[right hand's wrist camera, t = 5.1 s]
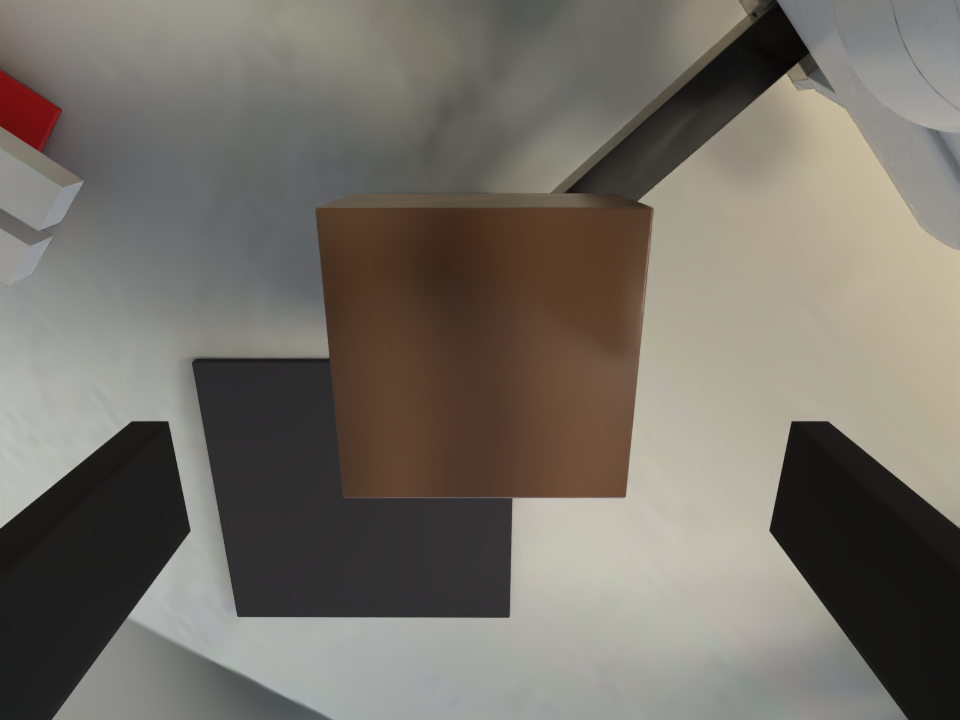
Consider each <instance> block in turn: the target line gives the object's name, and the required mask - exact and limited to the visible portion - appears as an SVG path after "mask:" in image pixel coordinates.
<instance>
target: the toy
mask: <svg viewBox="0 0 960 720" xmlns="http://www.w3.org/2000/svg"><path fill="white" fill-rule="evenodd" d="M60 112H61V109H60V108H58V107H56V106H55V105H53V104H52V103H50V102H49V101H47V100H46V99H44V98H42V97H41V96H39V95H38V94H36V93H35V92H33V91H32V90H30V89H28V88H27V87H25V86H24V85H22V84H21V83H19V82H18V81H16V80H14V79H13V78H11V77H10V76H8V75H7V74H5V73H4V72H2V71H0V283H1V284H3V285H5V286H7V287H8V286H10V285H12V284H14V283H16V282H18V281H20V280H22V279H24V278H26V277H28V276H30V275H31V274H32V273H33V271H34V269H35V267H36V266H37V264H38V262H39V260H40V259H41V257H42V255H43V253H44V251H45V250H46V248H47V246H48V244H49V243H50V241H51V239H52V237H53V236H52V235H50V234H49V233H47V232H45V231H44V230H42V229H45V228H47V227H50V226H52V225H55V224H57V223H60V222H61V221H62V220H63V218H64V216H65V214H66V213H67V211H68V209H69V207H70V206H71V204H72V202H73V200H74V198H75V197H76V195H77V193H78V191H79V190H80V188H81V186H82V184H83V183H84V180H82V179H81V178H79V177H78V176H76V175H75V174H73V173H71V172H70V171H68V170H67V169H65V168H64V167H62V166H61V165H59V164H58V163H56V162H54V161H53V160H51V159H50V158H48V157H47V156H45V155H44V154H42V153H41V151H42V149H43V147H44V145H45V143H46V141H47V139H48V137H49V135H50V133H51V131H52V129H53V127H54V125H55V122H56V120H57V118H58V116H59V114H60Z"/></svg>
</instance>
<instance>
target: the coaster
mask: <svg viewBox="0 0 960 720" xmlns="http://www.w3.org/2000/svg"><path fill="white" fill-rule="evenodd" d="M192 365H193V371H194V376H195V382H196V387H197V393H198V399H199V404H200V410H201V415H202V421H203V426H204V432H205V438H206V443H207V449H208V454H209V460H210V466H211V471H212V477H213V482H214V488H215V493H216V499H217V505H218V510H219V516H220V521H221V527H222V533H223V538H224V544H225V549H226V555H227V560H228V566H229V572H230V577H231V583H232V588H233V594H234V600H235V605H236V611H237V616H238V617H465V618H509V617H510V578H511V532H512V498H343V493H342V483H341V472H340V461H339V451H338V440H337V430H336V419H335V409H334V398H333V388H332V377H331V367H330V359H196V360H195V361H193V362H192Z"/></svg>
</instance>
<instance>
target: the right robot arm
mask: <svg viewBox="0 0 960 720" xmlns="http://www.w3.org/2000/svg"><path fill="white" fill-rule="evenodd" d="M769 531H770V532H771V534H772V535H773V536H774V538H775V539H776V541H777V542H778V543H779V545H780V546H781V547H782V549H783V550H784V551H785V553H786V554H787V555H788V557H789V558H790V560H791V561H792V562H793V564H794V565H795V566H796V568H797V569H798V570H799V572H800V573H801V575H802V576H803V577H804V579H805V580H806V581H807V583H808V584H809V585H810V587H811V588H812V589H813V591H814V592H815V594H816V595H817V596H818V598H819V599H820V600H821V602H822V603H823V604H824V606H825V607H826V608H827V610H828V611H829V613H830V614H831V615H832V617H833V618H834V619H835V621H836V622H837V623H838V625H839V626H840V627H841V629H842V630H843V632H844V633H845V634H846V636H847V637H848V638H849V640H850V641H851V642H852V644H853V645H854V647H855V648H856V649H857V651H858V652H859V653H860V655H861V656H862V657H863V659H864V660H865V661H866V663H867V664H868V666H869V667H870V668H871V670H872V671H873V672H874V674H875V675H876V676H877V678H878V679H879V680H880V682H881V683H882V685H883V686H884V687H885V689H886V690H887V691H888V693H889V694H890V695H891V697H892V698H893V699H894V701H895V702H896V704H897V705H898V706H899V708H900V709H901V710H902V712H903V713H904V714H905V716H906V717H907V719H908V720H960V529H959V528H958V527H957V526H956V525H955V524H953V523H952V522H951V521H950V520H948V519H947V518H946V517H945V516H944V515H942V514H941V513H940V512H939V511H937V510H936V509H935V508H934V507H932V506H931V505H930V504H929V503H928V502H926V501H925V500H924V499H923V498H921V497H920V496H919V495H918V494H917V493H915V492H914V491H913V490H912V489H910V488H909V487H908V486H907V485H905V484H904V483H903V482H902V481H901V480H899V479H898V478H897V477H896V476H894V475H893V474H892V473H891V472H890V471H888V470H887V469H886V468H885V467H883V466H882V465H881V464H880V463H878V462H877V461H876V460H875V459H874V458H872V457H871V456H870V455H869V454H867V453H866V452H865V451H864V450H863V449H861V448H860V447H859V446H858V445H856V444H855V443H854V442H853V441H852V440H850V439H849V438H848V437H847V436H845V435H844V434H843V433H842V432H840V431H839V430H838V429H837V428H836V427H834V426H833V425H832V424H831V423H829V422H828V421H792V422H791V427H790V432H789V437H788V442H787V447H786V452H785V457H784V462H783V467H782V471H781V476H780V481H779V486H778V491H777V496H776V501H775V506H774V511H773V516H772V521H771V526H770V530H769ZM189 532H190V526H189V521H188V516H187V511H186V506H185V501H184V496H183V491H182V486H181V481H180V476H179V471H178V467H177V462H176V457H175V452H174V447H173V442H172V437H171V432H170V427H169V422H168V421H132V422H131V423H129V424H128V425H127V426H126V427H124V428H123V429H122V430H121V431H120V432H118V433H117V434H116V435H115V436H113V437H112V438H111V439H110V440H108V441H107V442H106V443H105V444H104V445H102V446H101V447H100V448H99V449H97V450H96V451H95V452H94V453H93V454H91V455H90V456H89V457H88V458H86V459H85V460H84V461H83V462H82V463H80V464H79V465H78V466H77V467H75V468H74V469H73V470H72V471H70V472H69V473H68V474H67V475H66V476H64V477H63V478H62V479H61V480H59V481H58V482H57V483H56V484H55V485H53V486H52V487H51V488H50V489H48V490H47V491H46V492H45V493H43V494H42V495H41V496H40V497H39V498H37V499H36V500H35V501H34V502H32V503H31V504H30V505H29V506H28V507H26V508H25V509H24V510H23V511H21V512H20V513H19V514H18V515H16V516H15V517H14V518H13V519H12V520H10V521H9V522H8V523H7V524H5V525H4V526H3V527H2V528H1V529H0V720H52V719H53V717H54V716H55V714H56V713H57V712H58V710H59V709H60V708H61V706H62V705H63V704H64V702H65V701H66V699H67V698H68V697H69V695H70V694H71V693H72V691H73V690H74V689H75V687H76V686H77V685H78V683H79V682H80V680H81V679H82V678H83V676H84V675H85V674H86V672H87V671H88V670H89V668H90V667H91V665H92V664H93V663H94V661H95V660H96V659H97V657H98V656H99V655H100V653H101V652H102V650H103V649H104V648H105V646H106V645H107V644H108V642H109V641H110V640H111V638H112V637H113V636H114V634H115V633H116V632H117V630H118V629H119V627H120V626H121V625H122V623H123V622H124V621H125V619H126V618H127V617H128V615H129V614H130V613H131V611H132V610H133V608H134V607H135V606H136V604H137V603H138V602H139V600H140V599H141V598H142V596H143V595H144V594H145V592H146V591H147V589H148V588H149V587H150V585H151V584H152V583H153V581H154V580H155V579H156V577H157V576H158V575H159V573H160V572H161V570H162V569H163V568H164V566H165V565H166V564H167V562H168V561H169V560H170V558H171V557H172V555H173V554H174V553H175V551H176V550H177V549H178V547H179V546H180V545H181V543H182V542H183V541H184V539H185V538H186V536H187V535H188V534H189Z"/></svg>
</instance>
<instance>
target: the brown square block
mask: <svg viewBox="0 0 960 720" xmlns="http://www.w3.org/2000/svg"><path fill="white" fill-rule="evenodd" d="M316 219H317V230H318V240H319V251H320V261H321V272H322V282H323V293H324V303H325V314H326V325H327V335H328V346H329V356H330V367H331V377H332V388H333V398H334V409H335V419H336V430H337V440H338V451H339V461H340V472H341V483H342V493H343V498H625V497H626V489H627V479H628V468H629V458H630V448H631V437H632V427H633V417H634V406H635V396H636V386H637V375H638V365H639V355H640V344H641V334H642V324H643V313H644V303H645V293H646V282H647V272H648V262H649V251H650V241H651V231H652V220H653V208H652V207H649V206H647V205H644V204H642V203H639V202H637V201H634V200H632V199H629V198H627V197H624V196H622V195H619V194H616V193H558V194H350V195H348V196H345V197H343V198H340V199H338V200H335V201H333V202H331V203H328V204H326V205H323V206H321V207H318V208H316Z"/></svg>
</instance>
